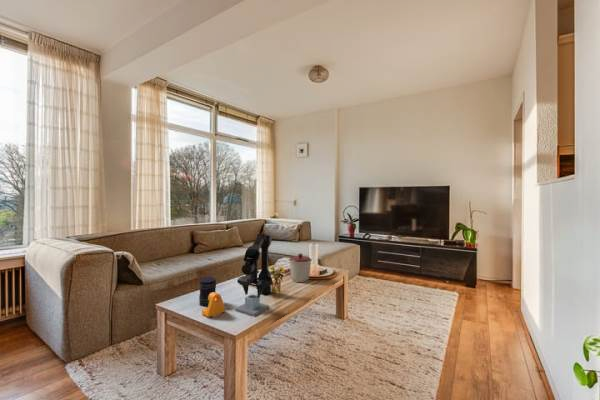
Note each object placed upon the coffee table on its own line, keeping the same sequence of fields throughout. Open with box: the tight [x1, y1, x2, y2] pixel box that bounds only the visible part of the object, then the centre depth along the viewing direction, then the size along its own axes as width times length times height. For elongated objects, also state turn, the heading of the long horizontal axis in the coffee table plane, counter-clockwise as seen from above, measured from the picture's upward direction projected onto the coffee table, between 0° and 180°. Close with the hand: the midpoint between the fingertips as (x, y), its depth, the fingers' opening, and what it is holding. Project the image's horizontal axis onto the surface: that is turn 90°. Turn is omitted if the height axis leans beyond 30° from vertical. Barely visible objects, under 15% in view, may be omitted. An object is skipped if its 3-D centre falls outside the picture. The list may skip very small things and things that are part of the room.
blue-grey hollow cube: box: [244, 293, 261, 310], centre depth 166 cm, size 6×6×6 cm
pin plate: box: [234, 302, 270, 317], centre depth 166 cm, size 14×14×6 cm
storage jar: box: [198, 276, 217, 308], centre depth 174 cm, size 10×10×15 cm
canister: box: [288, 253, 313, 283], centre depth 221 cm, size 18×18×21 cm
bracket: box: [201, 291, 226, 318], centre depth 160 cm, size 11×7×12 cm, turn 139°
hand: (252, 296), depth 165 cm, fingers open, 9 cm apart
